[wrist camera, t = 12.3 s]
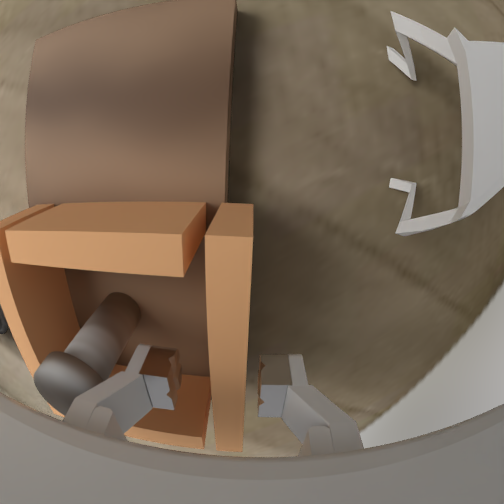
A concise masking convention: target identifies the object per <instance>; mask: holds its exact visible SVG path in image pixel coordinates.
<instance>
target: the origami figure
mask: <svg viewBox="0 0 504 504" xmlns="http://www.w3.org/2000/svg"><path fill="white" fill-rule="evenodd" d="M390 12H391V15H392V19H393V23H394V27H395V31H396V34H397V36H398V39H399V42H400V45H401V47H402V50H403V53H404V56H405V58H403V57H402V56H401V55H400V54H399V53H398V52H397V51H396V50H395V49H393V48H391V47H388V46H387V51H388V58H389V60H390V61H391V62H392V63H393V64H394V65H396V66H397V67H398V68H399V69H400V70H401V71H403V72H404V73H405V74H406V75H407V76H408V77H409V78H410V79H411V80H415V81H417V80H416V72H415V66H414V62H413V57H412V53H411V49H410V45H409V41H408V37H409V38H411V39H412V40H414V41H416V42H418V43H420V44H422V45H424V46H425V47H427V48H429V49H431V50H432V51H434V52H436V53H437V54H439V55H441V56H442V57H444V58H445V59H447V60H448V61H450V62H451V63H453V64H454V65H456V66H457V70H458V78H459V87H460V99H461V114H462V167H461V183H460V195H459V204H458V207H457V208H454V209H451V210H448V211H444V212H440V213H436V214H432V215H427V216H423V217H418V218H414V219H411V214H412V209H413V203H414V197H415V191H416V184H417V183H414V182H410V181H406V180H401V179H395V178H391V179H390V184H389V187H390V188H394V189H398V190H402V191H406V192H409V195H408V198H407V201H406V204H405V207H404V210H403V213H402V216H401V219H400V222H399V224H398V227H397V230H396V233H395V234H399V235H402V236H408V235H412V234H416V233H420V232H424V231H428V230H433V229H436V228H438V227H441V226H444V225H447V224H450V223H453V222H456V221H459V220H461V219H464V218H466V217H468V216H470V215H471V214H473V213H474V212H475V211H477V210H478V209H479V208H480V207H481V206H483V205H484V204H485V203H486V202H487V201H488V200H490V199H491V198H492V197H493V196H494V195H495V194H496V193H497V192H499V191H500V190H501V189H502V188H503V187H504V42H489V41H468V40H467V39H466V38H465V37H464V36H463V35H462V34H461V33H460V32H459V31H458V30H457V29H456V28H455V27H454V29H453V30H452V31H451V33H450V34H449V36H448V37H447V38H446V37H444V36H443V35H441V34H439V33H437V32H435V31H434V30H432V29H430V28H428V27H426V26H424V25H422V24H420V23H418V22H416V21H413V20H411V19H409V18H407V17H404V16H402V15H400V14H397V13H395V12H392V11H390Z"/></svg>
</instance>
